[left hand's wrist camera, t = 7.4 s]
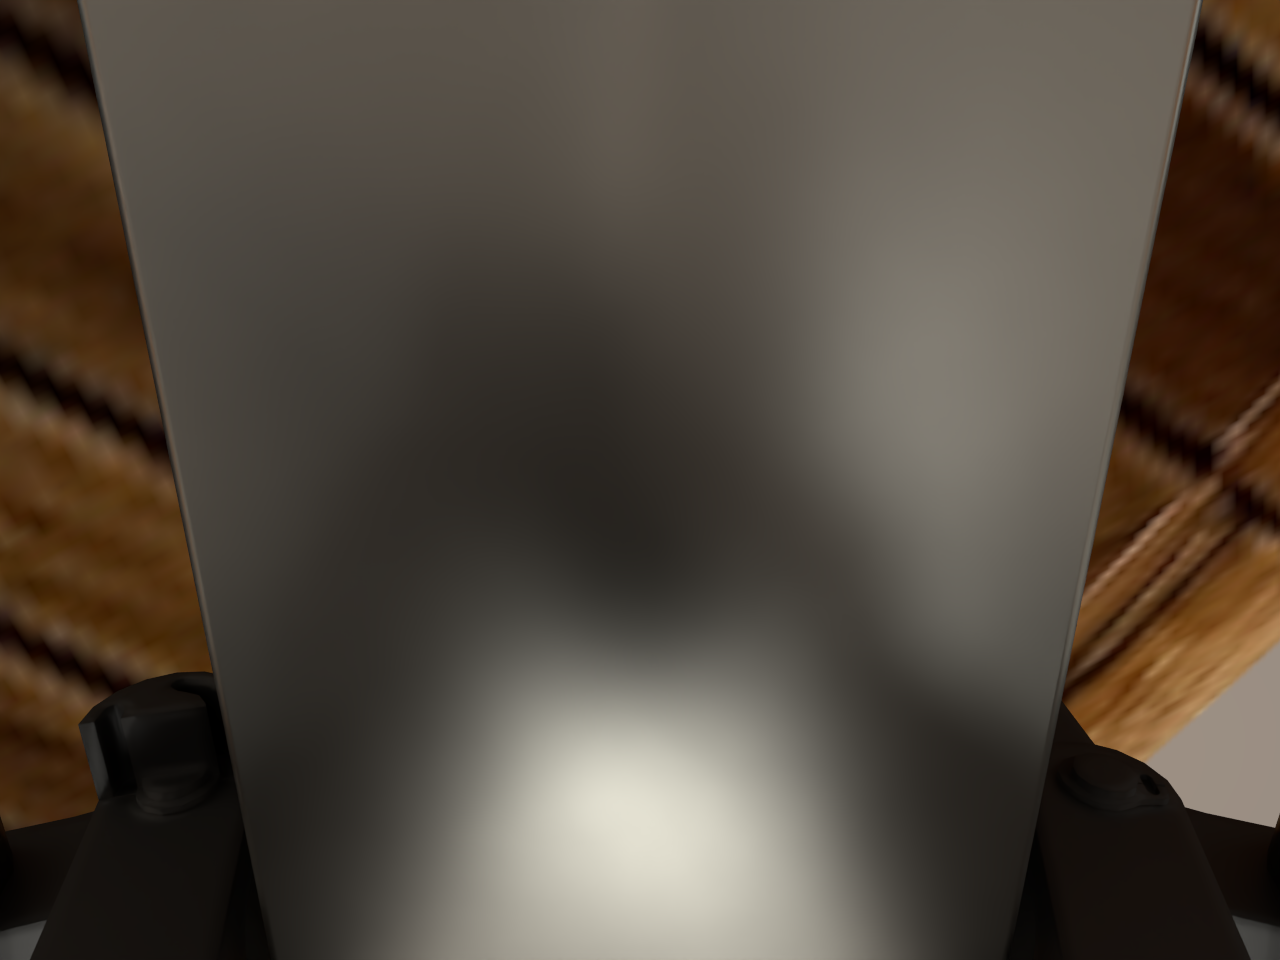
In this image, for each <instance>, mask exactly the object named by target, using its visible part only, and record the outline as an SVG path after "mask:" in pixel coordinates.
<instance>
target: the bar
mask: <svg viewBox="0 0 1280 960" xmlns="http://www.w3.org/2000/svg"><path fill="white" fill-rule="evenodd" d="M77 2H78V7H79V12H80V17H81V22H82V27H83V32H84V37H85V42H86V47H87V52H88V57H89V62H90V67H91V72H92V76H93V81H94V86H95V91H96V96H97V101H98V106H99V111H100V116H101V121H102V126H103V131H104V136H105V141H106V146H107V151H108V156H109V161H110V166H111V170H112V175H113V180H114V185H115V190H116V195H117V200H118V205H119V210H120V215H121V220H122V225H123V230H124V235H125V240H126V245H127V250H128V255H129V259H130V264H131V269H132V274H133V279H134V284H135V289H136V294H137V299H138V304H139V309H140V314H141V319H142V324H143V329H144V334H145V339H146V344H147V348H148V353H149V358H150V363H151V368H152V373H153V378H154V383H155V388H156V393H157V398H158V403H159V408H160V413H161V418H162V423H163V428H164V433H165V438H166V442H167V447H168V452H169V457H170V462H171V467H172V472H173V477H174V482H175V487H176V492H177V497H178V502H179V507H180V512H181V517H182V522H183V527H184V531H185V536H186V541H187V546H188V551H189V556H190V561H191V566H192V571H193V576H194V581H195V586H196V591H197V596H198V601H199V606H200V611H201V616H202V620H203V625H204V630H205V635H206V640H207V645H208V650H209V655H210V660H211V665H212V670H213V675H214V680H215V685H216V690H217V695H218V700H219V705H220V710H221V714H222V719H223V724H224V729H225V734H226V739H227V744H228V749H229V754H230V759H231V764H232V769H233V774H234V779H235V784H236V789H237V794H238V799H239V803H240V808H241V813H242V818H243V823H244V828H245V833H246V838H247V843H248V848H249V853H250V858H251V863H252V868H253V873H254V878H255V883H256V888H257V892H258V897H259V902H260V907H261V912H262V917H263V922H264V927H265V932H266V937H267V942H268V947H269V952H270V957H271V960H1009V956H1010V951H1011V946H1012V941H1013V936H1014V931H1015V926H1016V921H1017V916H1018V911H1019V907H1020V902H1021V897H1022V892H1023V887H1024V882H1025V877H1026V872H1027V867H1028V862H1029V857H1030V852H1031V847H1032V842H1033V837H1034V832H1035V827H1036V822H1037V818H1038V813H1039V808H1040V803H1041V798H1042V793H1043V788H1044V783H1045V778H1046V773H1047V768H1048V763H1049V758H1050V753H1051V748H1052V743H1053V738H1054V734H1055V729H1056V724H1057V719H1058V714H1059V709H1060V704H1061V699H1062V694H1063V689H1064V684H1065V679H1066V674H1067V669H1068V664H1069V659H1070V654H1071V650H1072V645H1073V640H1074V635H1075V630H1076V625H1077V620H1078V615H1079V610H1080V605H1081V600H1082V595H1083V590H1084V585H1085V580H1086V575H1087V570H1088V566H1089V561H1090V556H1091V551H1092V546H1093V541H1094V536H1095V531H1096V526H1097V521H1098V516H1099V511H1100V506H1101V501H1102V496H1103V491H1104V486H1105V481H1106V477H1107V472H1108V467H1109V462H1110V457H1111V452H1112V447H1113V442H1114V437H1115V432H1116V427H1117V422H1118V417H1119V412H1120V407H1121V402H1122V397H1123V393H1124V388H1125V383H1126V378H1127V373H1128V368H1129V363H1130V358H1131V353H1132V348H1133V343H1134V338H1135V333H1136V328H1137V323H1138V318H1139V313H1140V309H1141V304H1142V299H1143V294H1144V289H1145V284H1146V279H1147V274H1148V269H1149V264H1150V259H1151V254H1152V249H1153V244H1154V239H1155V234H1156V229H1157V225H1158V220H1159V215H1160V210H1161V205H1162V200H1163V195H1164V190H1165V185H1166V180H1167V175H1168V170H1169V165H1170V160H1171V155H1172V150H1173V145H1174V140H1175V136H1176V131H1177V126H1178V121H1179V116H1180V111H1181V106H1182V101H1183V96H1184V91H1185V86H1186V81H1187V76H1188V71H1189V66H1190V61H1191V56H1192V52H1193V47H1194V42H1195V37H1196V32H1197V27H1198V22H1199V17H1200V12H1201V7H1202V2H1203V0H77Z"/></svg>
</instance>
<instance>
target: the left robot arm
mask: <svg viewBox="0 0 1280 960" xmlns="http://www.w3.org/2000/svg"><path fill="white" fill-rule="evenodd" d="M78 725H79V729H80V733H81V736H82V740H83V744H84V747H85V751H86V755H87V758H88V762H89V766H90V769H91V773H92V777H93V780H94V784H95V788H96V791H97V795H98V799H99V802H98V804H97V806H96V808H95V811H93V812H90V813H86V814H83V815H79V816H76V817H71V818H67V819H62V820H57V821H53V822H48V823H43V824H39V825H34V826H29V827H25V828H20V829H15V830H10V831H6V832H5V830H4V827H3V823H2V820H1V817H0V960H271V957H270V952H269V947H268V942H267V937H266V932H265V927H264V922H263V917H262V912H261V907H260V902H259V897H258V892H257V888H256V883H255V878H254V873H253V868H252V863H251V858H250V853H249V848H248V843H247V838H246V833H245V828H244V823H243V818H242V813H241V808H240V803H239V799H238V794H237V789H236V784H235V779H234V774H233V769H232V764H231V759H230V754H229V749H228V744H227V739H226V734H225V729H224V724H223V719H222V714H221V710H220V705H219V700H218V695H217V690H216V685H215V680H214V675H213V673H209V672H180V673H173V674H168V675H164V676H160V677H155V678H151V679H146V680H144V681H141V682H139V683H137V684H134V685H132V686H129V687H127V688H124V689H122V690H119V691H117V692H116V693H114V694H113V695H111V696H109V697H108V698H106V699H105V700H103V701H102V702H100V703H99V704H97V705H96V706H94V707H93V708H92V709H91V710H90V711H89V713H88V714H87V715H86V716H85V717H84V719H83V720H82V721H81V722H80V723H79V724H78ZM1009 960H1280V815H1279V818H1278V821H1277V824H1276V827H1275V828H1273V827H1269V826H1264V825H1259V824H1254V823H1250V822H1245V821H1240V820H1236V819H1231V818H1226V817H1222V816H1217V815H1212V814H1207V813H1204V812H1200V811H1196V810H1193V809H1189V808H1185V807H1184V805H1183V802H1182V800H1181V798H1180V797H1179V796H1178V794H1177V793H1176V792H1175V790H1174V789H1173V787H1172V786H1171V785H1170V783H1169V782H1168V780H1166V779H1165V778H1164V777H1162V776H1161V775H1160V774H1158V773H1157V772H1156V771H1154V770H1153V769H1152V768H1150V767H1149V766H1148V765H1146V764H1145V763H1143V762H1141V761H1139V760H1137V759H1135V758H1133V757H1130V756H1128V755H1126V754H1124V753H1122V752H1120V751H1118V750H1114V749H1110V748H1106V747H1102V746H1099V745H1095V744H1094V743H1093V742H1092V740H1091V739H1090V738H1089V736H1088V735H1087V734H1086V732H1085V731H1084V730H1083V728H1082V727H1081V726H1080V724H1079V723H1078V722H1077V720H1076V719H1075V718H1074V717H1073V715H1072V714H1071V713H1070V711H1069V710H1068V709H1067V707H1066V706H1065V705H1064V703H1063V702H1062V701H1061V704H1060V709H1059V714H1058V719H1057V724H1056V729H1055V734H1054V738H1053V743H1052V748H1051V753H1050V758H1049V763H1048V768H1047V773H1046V778H1045V783H1044V788H1043V793H1042V798H1041V803H1040V808H1039V813H1038V818H1037V822H1036V827H1035V832H1034V837H1033V842H1032V847H1031V852H1030V857H1029V862H1028V867H1027V872H1026V877H1025V882H1024V887H1023V892H1022V897H1021V902H1020V907H1019V911H1018V916H1017V921H1016V926H1015V931H1014V936H1013V941H1012V946H1011V951H1010V956H1009Z"/></svg>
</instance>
